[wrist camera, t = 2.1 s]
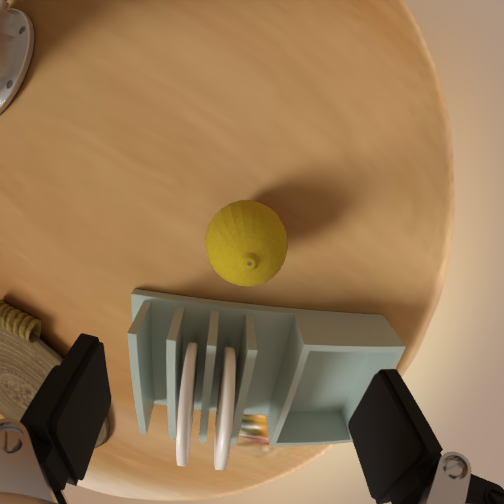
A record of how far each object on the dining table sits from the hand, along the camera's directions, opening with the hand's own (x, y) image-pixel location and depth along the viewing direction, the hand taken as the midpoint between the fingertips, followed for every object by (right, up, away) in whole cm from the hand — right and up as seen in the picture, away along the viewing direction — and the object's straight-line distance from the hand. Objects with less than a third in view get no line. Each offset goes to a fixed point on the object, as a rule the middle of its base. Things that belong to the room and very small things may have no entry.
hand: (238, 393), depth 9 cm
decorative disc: (-32, -14, +22) cm, 41 cm away
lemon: (0, +7, +16) cm, 17 cm away
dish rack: (+1, -7, +21) cm, 22 cm away
